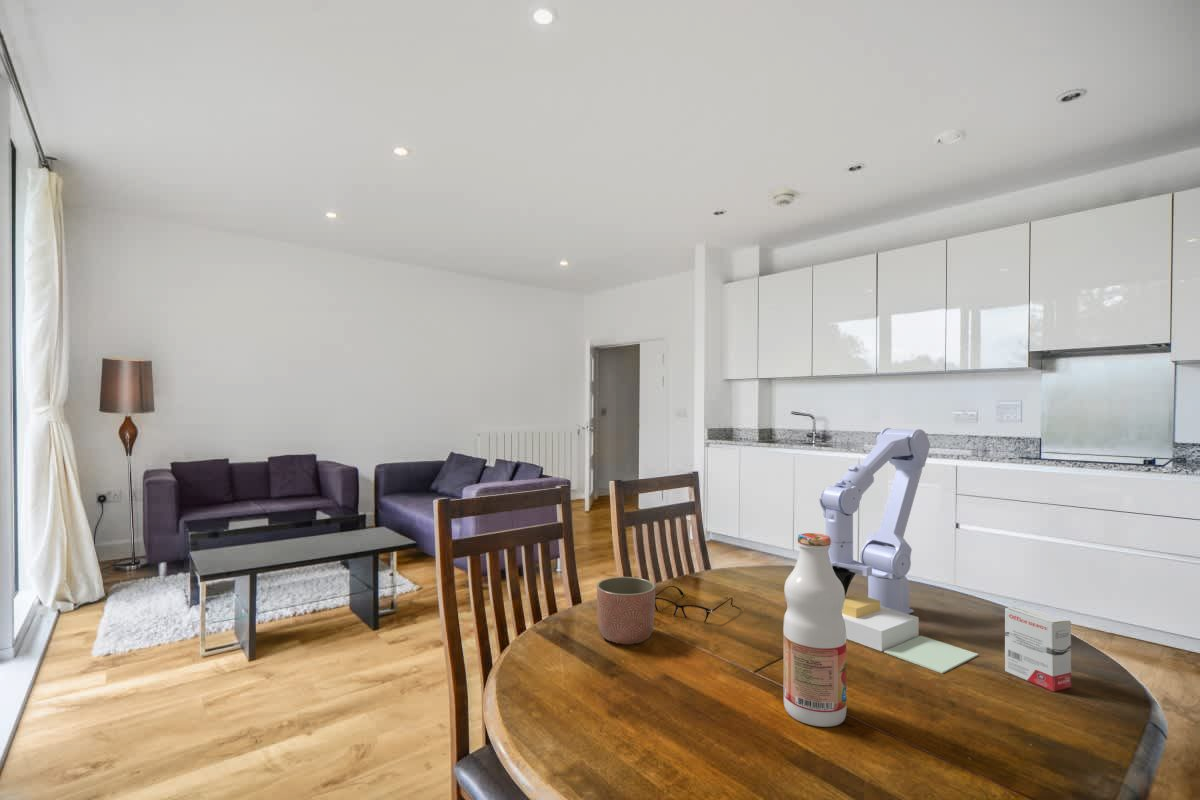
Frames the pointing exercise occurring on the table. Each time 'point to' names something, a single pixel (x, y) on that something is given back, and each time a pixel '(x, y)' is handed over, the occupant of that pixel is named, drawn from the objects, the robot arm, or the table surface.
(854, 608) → the yellow rectangular block
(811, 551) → the fruit juice
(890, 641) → the white box
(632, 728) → the table surface
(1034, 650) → the ink box
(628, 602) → the planter
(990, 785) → the table surface
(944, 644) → the mat
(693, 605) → the eyeglasses
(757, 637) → the table surface
